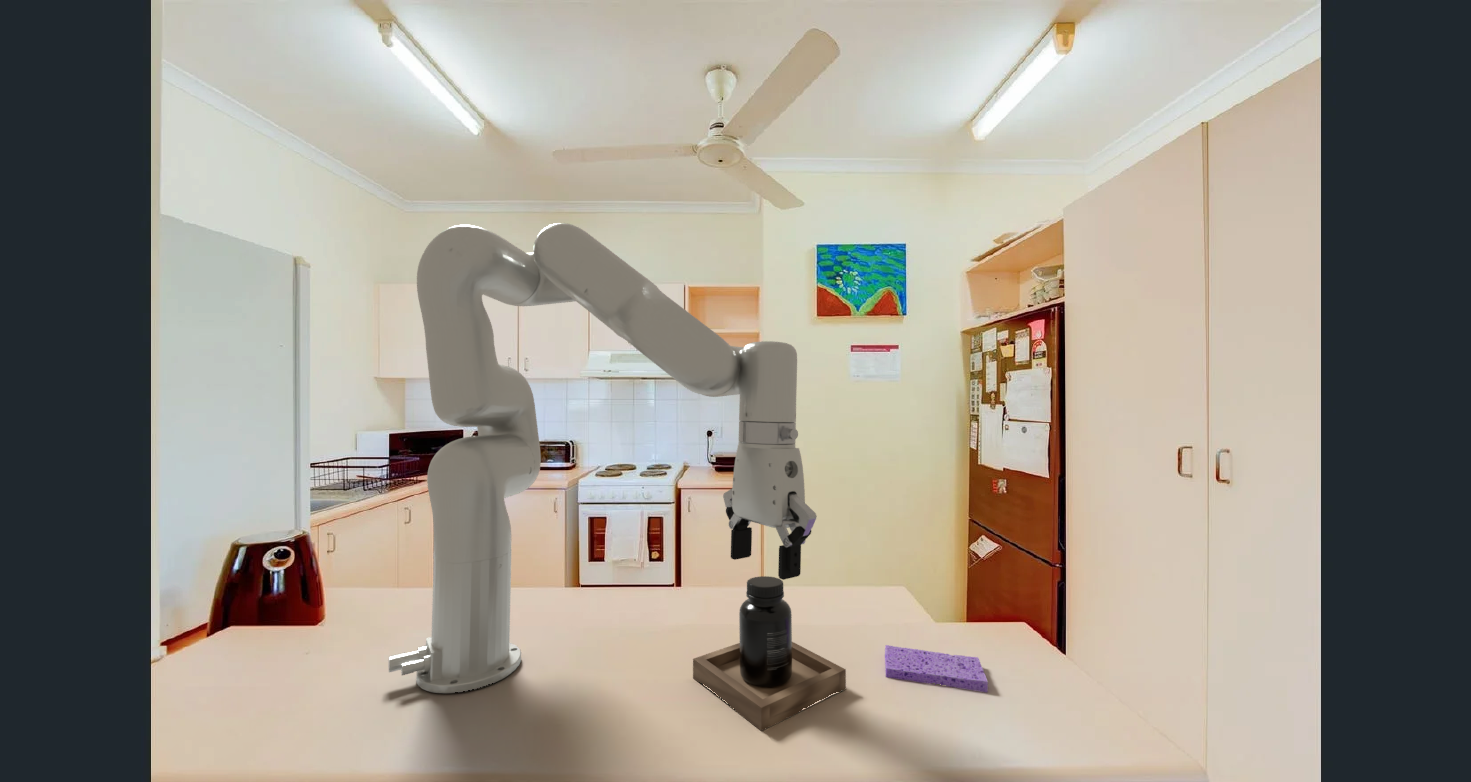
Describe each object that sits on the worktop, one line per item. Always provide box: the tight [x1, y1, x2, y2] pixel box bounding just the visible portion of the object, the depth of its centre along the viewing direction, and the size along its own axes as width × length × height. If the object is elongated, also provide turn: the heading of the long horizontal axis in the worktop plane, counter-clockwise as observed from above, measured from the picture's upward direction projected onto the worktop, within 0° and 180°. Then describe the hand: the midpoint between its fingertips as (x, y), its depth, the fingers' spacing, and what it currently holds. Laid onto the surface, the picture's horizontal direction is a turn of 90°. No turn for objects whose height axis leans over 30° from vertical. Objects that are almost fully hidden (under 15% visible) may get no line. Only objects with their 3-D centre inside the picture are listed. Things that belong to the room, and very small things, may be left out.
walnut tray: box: [692, 641, 847, 732], centre depth 66 cm, size 14×14×2 cm
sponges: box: [884, 644, 989, 693], centre depth 69 cm, size 7×13×2 cm, turn 73°
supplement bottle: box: [738, 575, 793, 687], centre depth 66 cm, size 7×7×12 cm
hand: (763, 567), depth 66 cm, fingers open, 9 cm apart
